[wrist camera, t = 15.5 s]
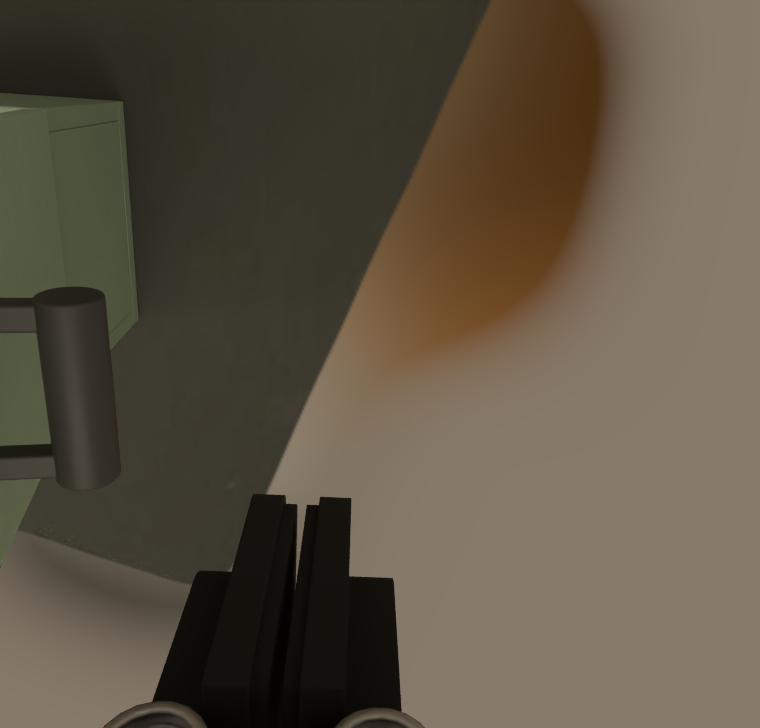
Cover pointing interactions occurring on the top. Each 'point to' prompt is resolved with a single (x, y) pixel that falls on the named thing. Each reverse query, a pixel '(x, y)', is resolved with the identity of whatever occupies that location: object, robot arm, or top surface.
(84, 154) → the green hinged lid box
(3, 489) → the green box lid
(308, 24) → the top surface
